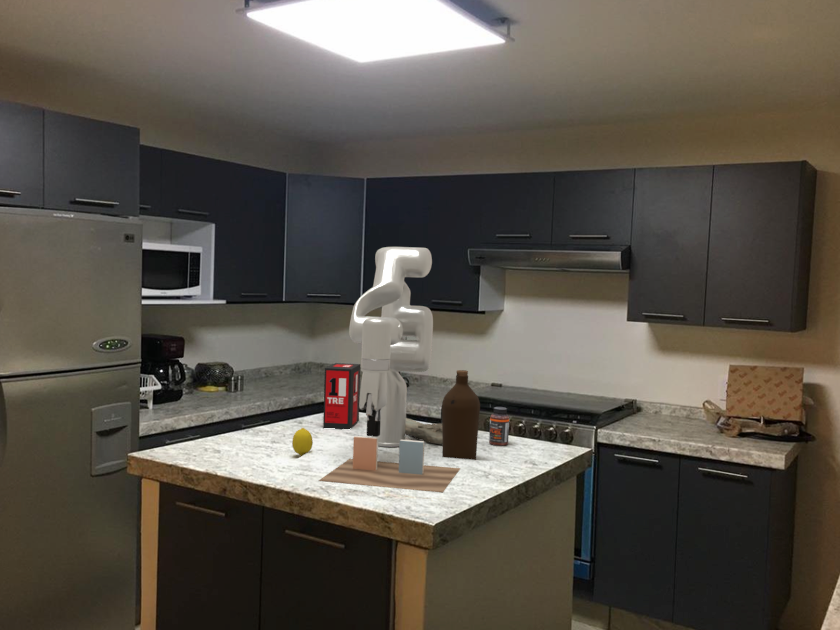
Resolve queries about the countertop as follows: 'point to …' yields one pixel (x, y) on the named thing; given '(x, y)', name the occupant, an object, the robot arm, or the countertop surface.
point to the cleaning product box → (341, 395)
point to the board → (393, 477)
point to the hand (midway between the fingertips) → (373, 435)
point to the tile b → (411, 457)
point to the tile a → (365, 453)
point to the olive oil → (460, 420)
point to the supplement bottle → (499, 427)
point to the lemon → (302, 441)
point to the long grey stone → (424, 431)
